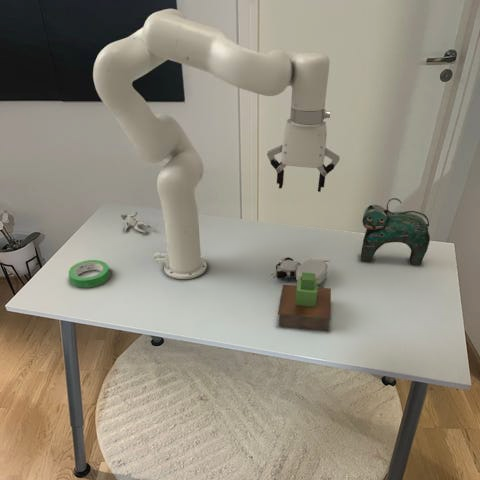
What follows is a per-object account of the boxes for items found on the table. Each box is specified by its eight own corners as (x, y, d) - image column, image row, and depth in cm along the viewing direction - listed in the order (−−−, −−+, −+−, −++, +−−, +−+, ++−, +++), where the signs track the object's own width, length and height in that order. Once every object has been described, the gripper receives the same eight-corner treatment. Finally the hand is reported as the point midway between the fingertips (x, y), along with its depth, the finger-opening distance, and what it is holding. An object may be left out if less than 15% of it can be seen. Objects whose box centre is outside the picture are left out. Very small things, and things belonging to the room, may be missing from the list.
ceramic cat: (355, 262, 139) (366, 200, 127) (355, 252, 144) (365, 190, 132) (423, 268, 137) (441, 205, 124) (420, 257, 142) (438, 195, 129)
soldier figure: (138, 240, 153) (111, 222, 155) (144, 244, 157) (117, 226, 160) (151, 220, 152) (123, 202, 155) (156, 224, 157) (129, 206, 159)
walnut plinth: (277, 327, 115) (278, 312, 113) (281, 298, 125) (282, 284, 122) (328, 332, 114) (330, 317, 111) (328, 302, 124) (330, 288, 121)
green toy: (295, 305, 115) (297, 281, 111) (296, 293, 119) (298, 270, 114) (315, 307, 114) (318, 282, 110) (316, 295, 118) (319, 271, 114)
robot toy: (268, 285, 131) (320, 294, 126) (268, 272, 129) (320, 280, 123) (282, 264, 140) (331, 272, 135) (282, 251, 137) (332, 258, 132)
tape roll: (109, 265, 139) (107, 257, 137) (110, 285, 130) (108, 277, 129) (71, 269, 137) (69, 262, 135) (69, 290, 128) (67, 282, 127)
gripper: (345, 113, 106) (335, 185, 117) (271, 109, 109) (267, 179, 120) (345, 122, 101) (334, 197, 111) (266, 117, 103) (263, 191, 114)
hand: (300, 188), depth 115 cm, fingers open, 9 cm apart
